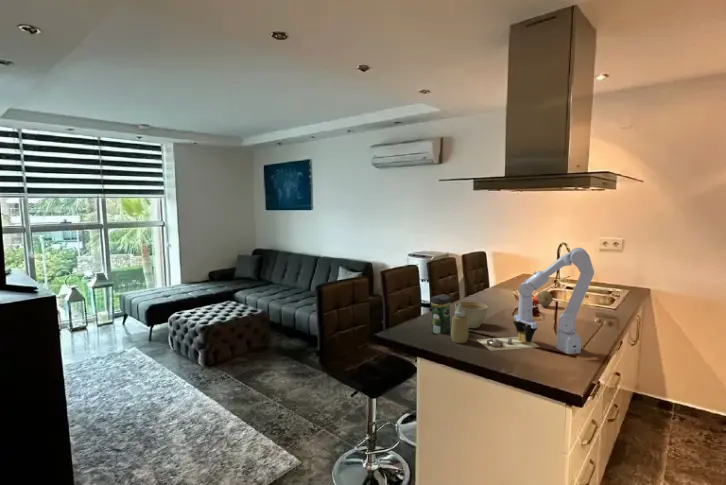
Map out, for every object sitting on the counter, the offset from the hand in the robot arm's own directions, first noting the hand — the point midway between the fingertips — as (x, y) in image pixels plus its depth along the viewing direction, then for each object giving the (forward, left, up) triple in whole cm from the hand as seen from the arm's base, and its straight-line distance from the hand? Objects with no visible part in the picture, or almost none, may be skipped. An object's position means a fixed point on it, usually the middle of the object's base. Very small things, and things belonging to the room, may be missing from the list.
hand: (524, 339), depth 179 cm
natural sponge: (+57, -48, -3) cm, 75 cm away
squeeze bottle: (+8, +27, -3) cm, 28 cm away
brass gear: (0, 0, 0) cm, 0 cm away
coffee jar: (+24, +30, -3) cm, 39 cm away
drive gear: (0, +14, -2) cm, 14 cm away
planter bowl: (+31, +11, -3) cm, 33 cm away
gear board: (+1, +8, -3) cm, 8 cm away
